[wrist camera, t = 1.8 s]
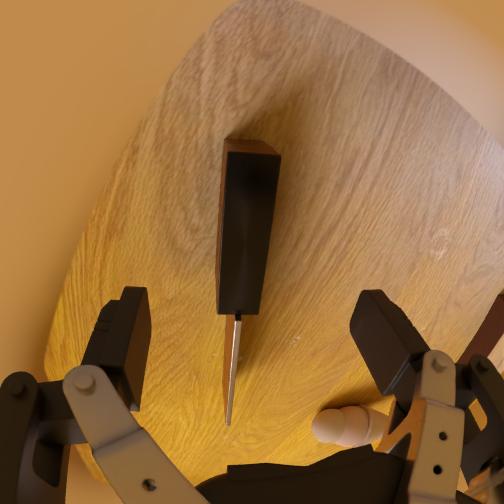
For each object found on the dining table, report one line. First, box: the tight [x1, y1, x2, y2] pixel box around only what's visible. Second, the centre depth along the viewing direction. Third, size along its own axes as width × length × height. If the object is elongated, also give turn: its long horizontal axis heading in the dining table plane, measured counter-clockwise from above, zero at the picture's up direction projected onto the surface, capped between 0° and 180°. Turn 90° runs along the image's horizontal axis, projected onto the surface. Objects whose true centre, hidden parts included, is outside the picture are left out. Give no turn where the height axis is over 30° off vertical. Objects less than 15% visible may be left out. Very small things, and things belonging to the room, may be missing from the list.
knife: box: [215, 139, 281, 426], centre depth 19 cm, size 22×2×5 cm, turn 174°
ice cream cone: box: [312, 404, 388, 448], centre depth 31 cm, size 6×6×15 cm
